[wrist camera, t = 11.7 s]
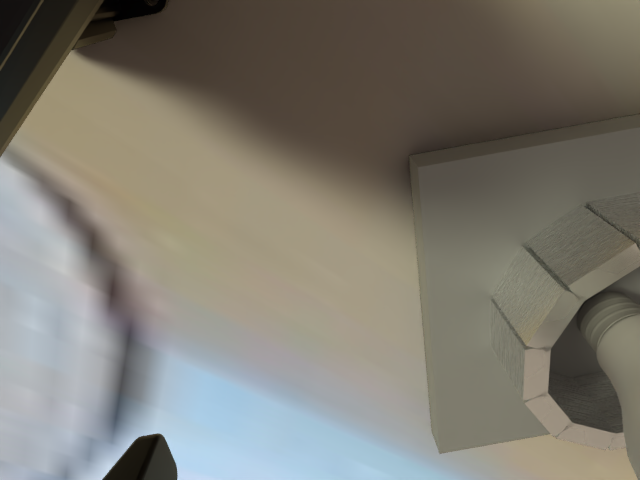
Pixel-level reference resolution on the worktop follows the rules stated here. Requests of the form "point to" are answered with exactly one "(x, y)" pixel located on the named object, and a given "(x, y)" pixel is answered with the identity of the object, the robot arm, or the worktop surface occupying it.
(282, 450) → the worktop surface
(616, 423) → the socket collar
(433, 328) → the socket plate
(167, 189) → the worktop surface
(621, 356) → the lightbulb
